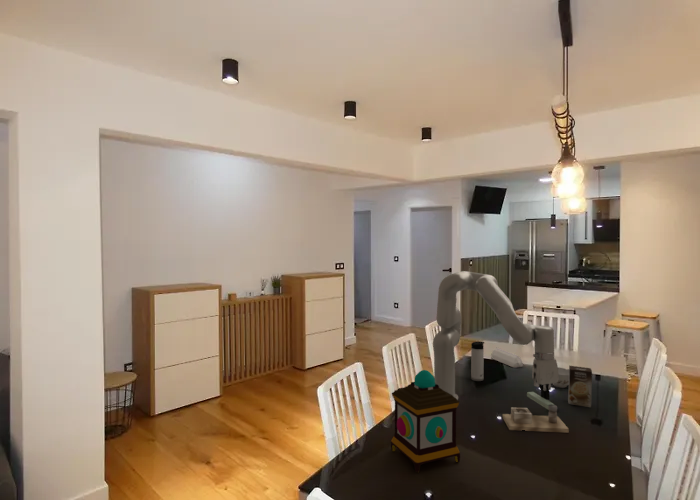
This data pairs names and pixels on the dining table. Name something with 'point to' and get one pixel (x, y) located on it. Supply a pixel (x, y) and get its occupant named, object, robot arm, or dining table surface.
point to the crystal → (506, 358)
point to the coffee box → (580, 386)
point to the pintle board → (538, 423)
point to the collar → (521, 415)
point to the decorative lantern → (425, 421)
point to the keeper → (542, 401)
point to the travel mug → (477, 361)
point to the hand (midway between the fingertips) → (545, 398)
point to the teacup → (562, 378)
